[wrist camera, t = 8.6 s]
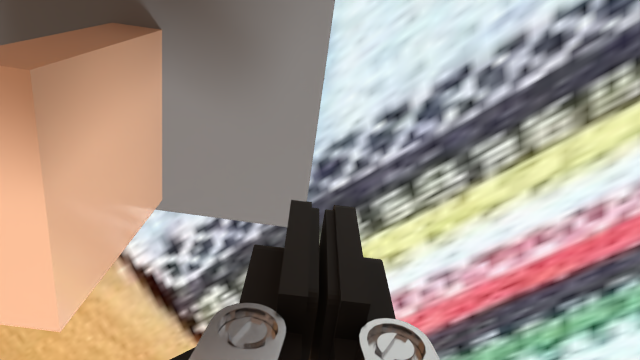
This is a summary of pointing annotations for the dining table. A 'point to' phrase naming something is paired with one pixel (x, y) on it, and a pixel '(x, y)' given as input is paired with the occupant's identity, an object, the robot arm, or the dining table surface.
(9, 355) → the dining table surface
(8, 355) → the dining table surface
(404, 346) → the robot arm
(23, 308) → the peach flat block
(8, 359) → the dining table surface
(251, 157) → the rubber mat
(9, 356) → the dining table surface
